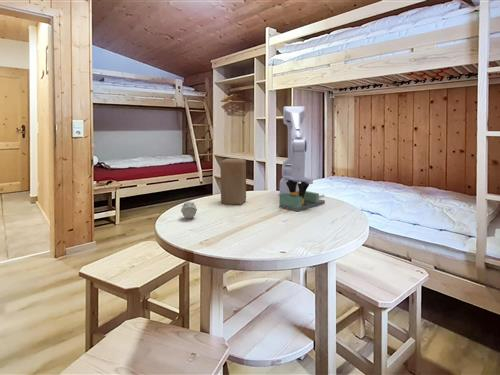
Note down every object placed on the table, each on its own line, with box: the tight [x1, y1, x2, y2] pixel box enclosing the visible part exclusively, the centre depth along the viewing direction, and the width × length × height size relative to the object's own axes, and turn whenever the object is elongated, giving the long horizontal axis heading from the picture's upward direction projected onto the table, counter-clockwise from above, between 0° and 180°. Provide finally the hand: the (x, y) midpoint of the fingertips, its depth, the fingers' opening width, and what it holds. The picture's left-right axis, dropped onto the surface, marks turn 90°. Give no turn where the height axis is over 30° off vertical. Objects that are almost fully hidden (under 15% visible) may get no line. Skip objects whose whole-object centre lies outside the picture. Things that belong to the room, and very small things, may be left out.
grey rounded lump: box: [180, 200, 198, 219], centre depth 129 cm, size 6×7×7 cm
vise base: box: [278, 193, 326, 212], centre depth 149 cm, size 10×20×6 cm, turn 134°
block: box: [219, 158, 247, 206], centre depth 154 cm, size 10×10×20 cm
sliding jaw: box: [304, 190, 325, 203], centre depth 154 cm, size 10×7×4 cm
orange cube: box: [290, 191, 304, 204], centre depth 146 cm, size 4×5×5 cm
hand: (297, 198), depth 147 cm, fingers closed on orange cube, 4 cm apart
